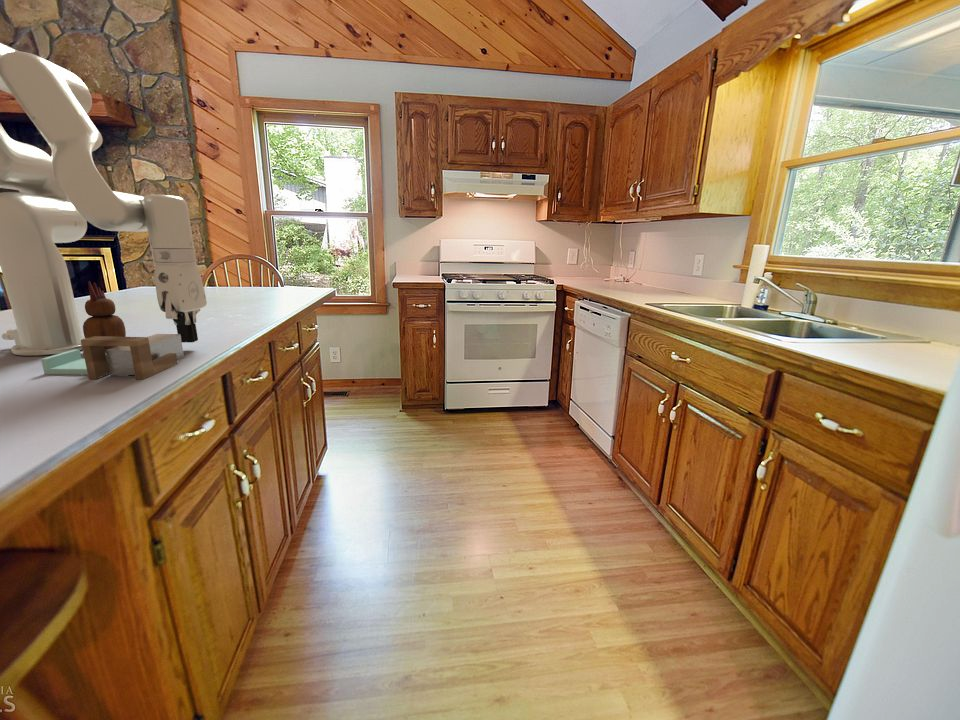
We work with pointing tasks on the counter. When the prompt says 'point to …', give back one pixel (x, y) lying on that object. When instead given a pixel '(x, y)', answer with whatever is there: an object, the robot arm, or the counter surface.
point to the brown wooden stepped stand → (139, 353)
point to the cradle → (65, 363)
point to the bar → (159, 346)
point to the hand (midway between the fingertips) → (188, 341)
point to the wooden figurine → (102, 316)
